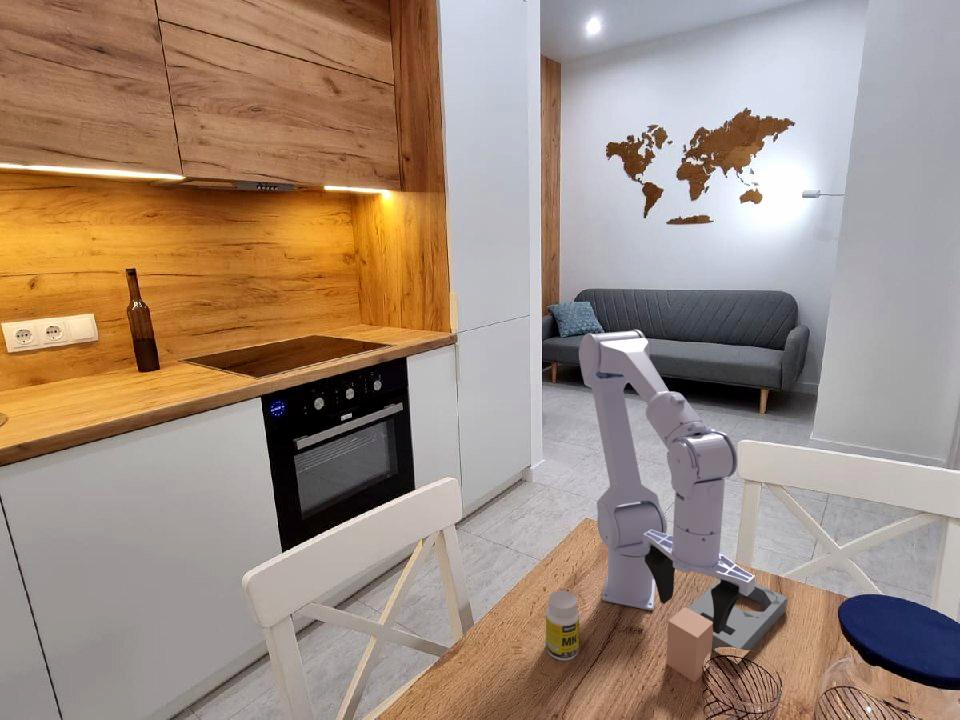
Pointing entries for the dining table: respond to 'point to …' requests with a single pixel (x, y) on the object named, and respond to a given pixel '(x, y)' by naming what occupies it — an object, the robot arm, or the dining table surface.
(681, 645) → the peg
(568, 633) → the supplement bottle
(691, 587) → the dining table surface
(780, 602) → the socket board
